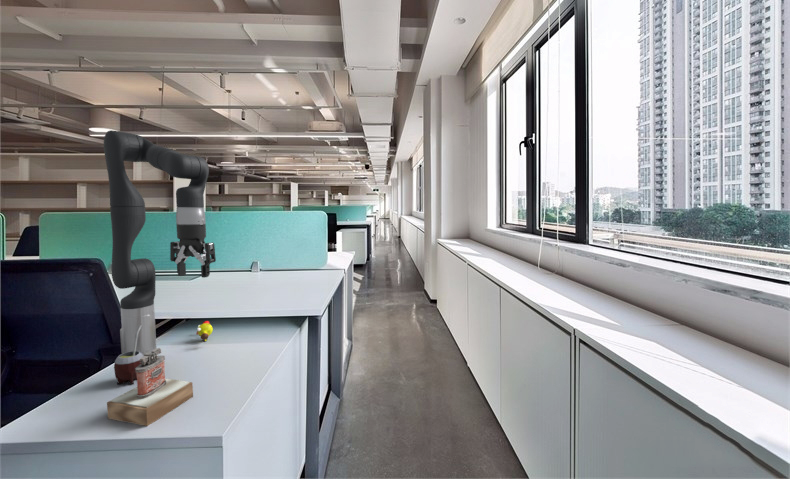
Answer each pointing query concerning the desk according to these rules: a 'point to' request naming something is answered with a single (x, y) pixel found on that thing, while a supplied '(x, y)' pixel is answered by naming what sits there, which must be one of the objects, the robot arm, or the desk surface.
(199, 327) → the toy figure
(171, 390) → the wooden flat block
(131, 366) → the mate gourd
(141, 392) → the lighter
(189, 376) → the desk surface
